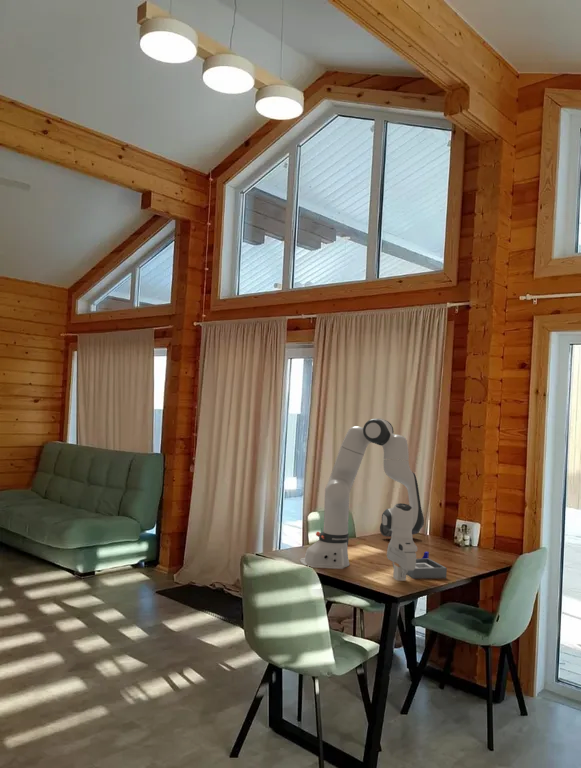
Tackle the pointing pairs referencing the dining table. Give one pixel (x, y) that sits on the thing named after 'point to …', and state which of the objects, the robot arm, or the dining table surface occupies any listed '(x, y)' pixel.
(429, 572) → the storage box
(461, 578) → the dining table surface
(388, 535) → the bluetooth speaker
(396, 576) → the connector
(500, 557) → the dining table surface
